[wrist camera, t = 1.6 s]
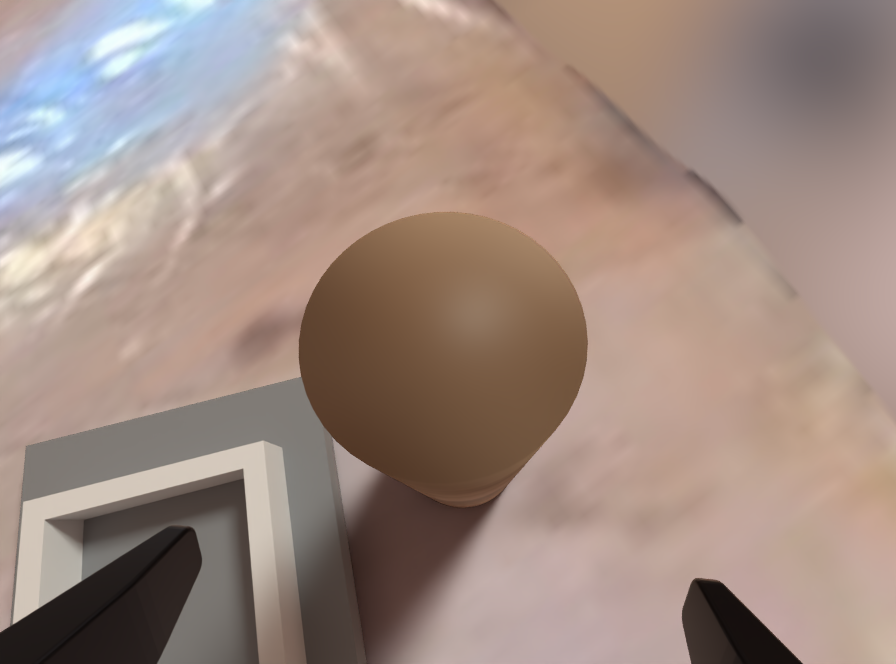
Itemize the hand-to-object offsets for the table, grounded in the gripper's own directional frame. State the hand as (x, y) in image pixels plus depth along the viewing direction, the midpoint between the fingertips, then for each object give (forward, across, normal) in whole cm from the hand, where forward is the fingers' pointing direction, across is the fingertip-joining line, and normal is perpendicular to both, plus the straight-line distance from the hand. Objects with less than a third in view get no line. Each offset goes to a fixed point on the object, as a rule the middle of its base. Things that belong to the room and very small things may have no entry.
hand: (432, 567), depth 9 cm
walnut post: (+10, 0, +5) cm, 11 cm away
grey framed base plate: (+6, +10, +9) cm, 15 cm away
